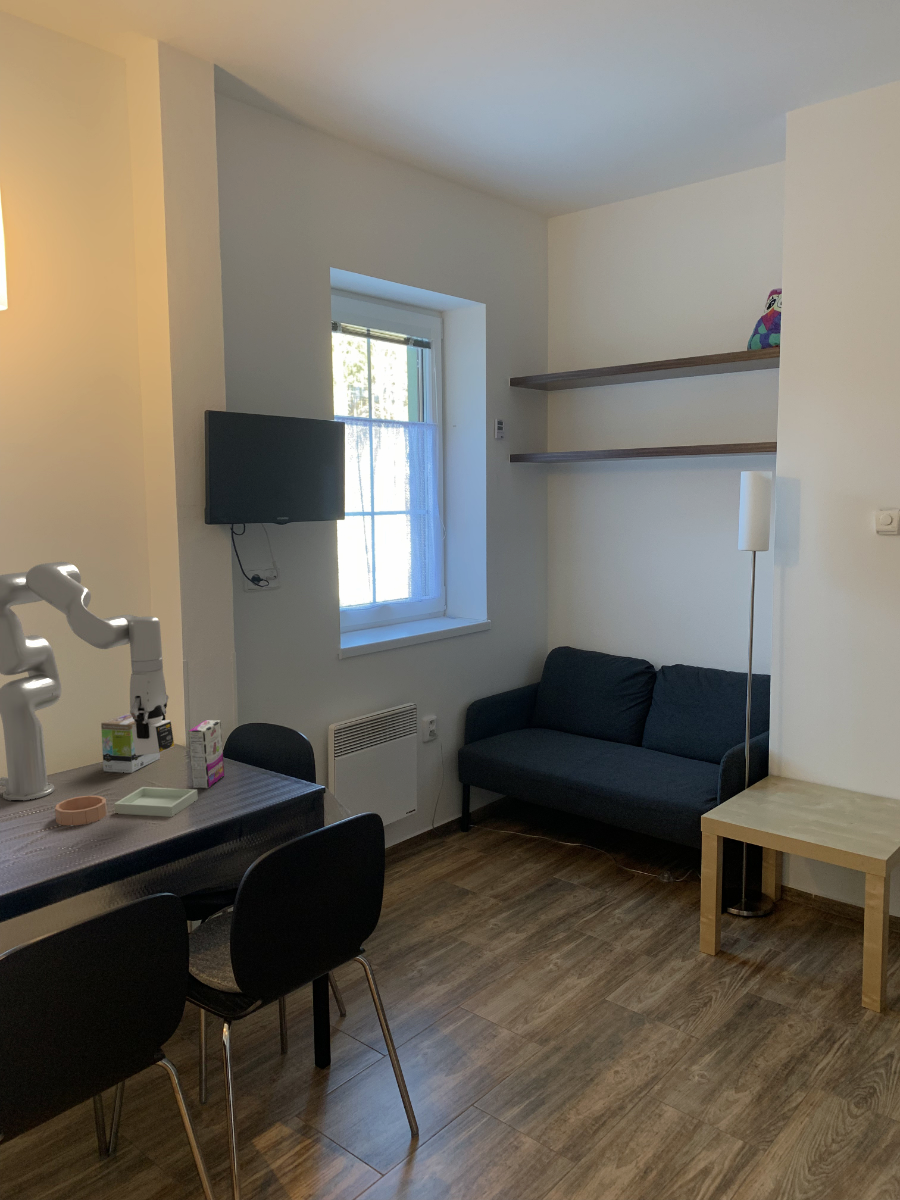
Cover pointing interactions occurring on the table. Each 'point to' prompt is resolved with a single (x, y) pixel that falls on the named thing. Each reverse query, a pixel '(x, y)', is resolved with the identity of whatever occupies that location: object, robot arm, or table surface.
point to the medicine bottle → (154, 734)
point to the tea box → (122, 746)
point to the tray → (156, 801)
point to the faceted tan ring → (81, 810)
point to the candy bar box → (206, 753)
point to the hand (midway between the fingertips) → (151, 733)
